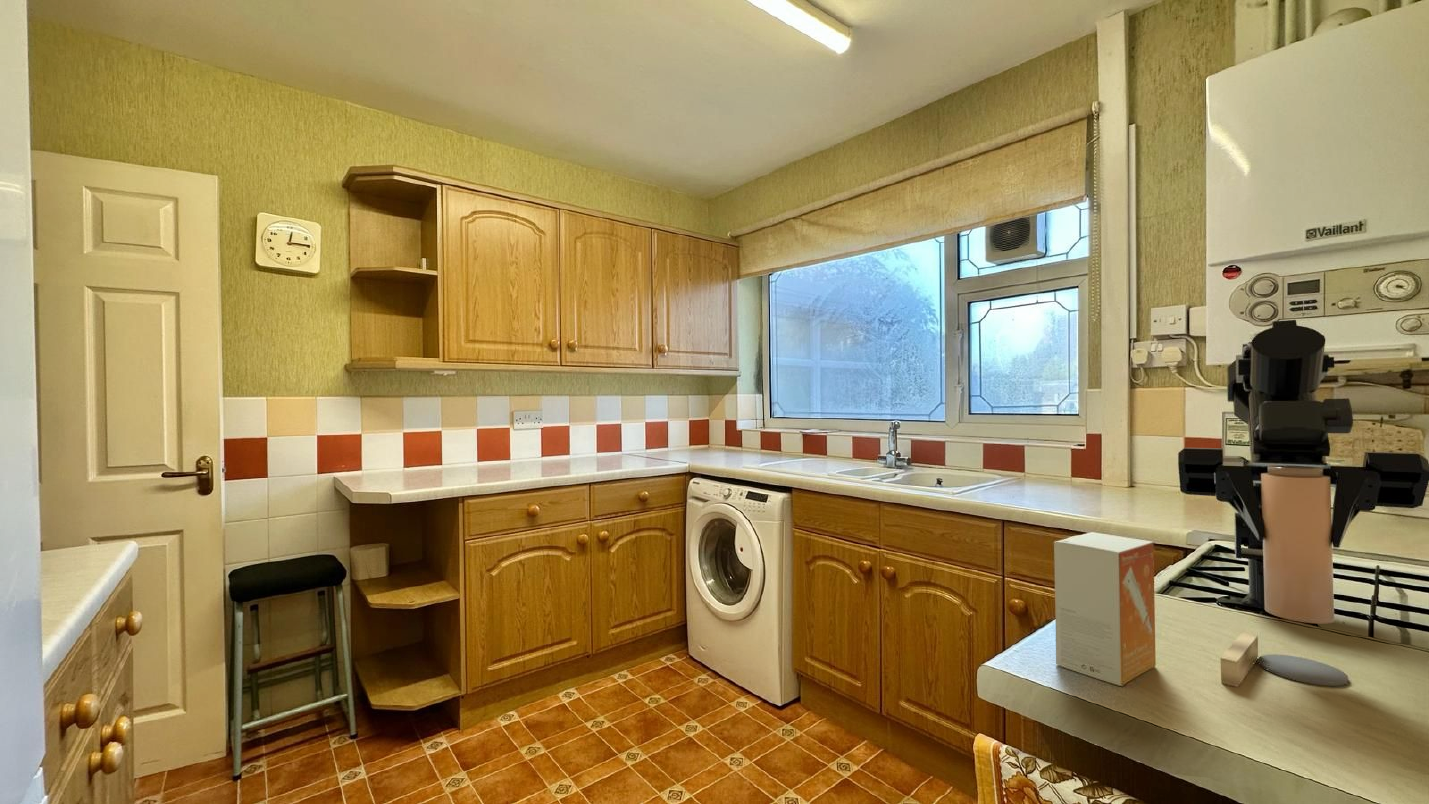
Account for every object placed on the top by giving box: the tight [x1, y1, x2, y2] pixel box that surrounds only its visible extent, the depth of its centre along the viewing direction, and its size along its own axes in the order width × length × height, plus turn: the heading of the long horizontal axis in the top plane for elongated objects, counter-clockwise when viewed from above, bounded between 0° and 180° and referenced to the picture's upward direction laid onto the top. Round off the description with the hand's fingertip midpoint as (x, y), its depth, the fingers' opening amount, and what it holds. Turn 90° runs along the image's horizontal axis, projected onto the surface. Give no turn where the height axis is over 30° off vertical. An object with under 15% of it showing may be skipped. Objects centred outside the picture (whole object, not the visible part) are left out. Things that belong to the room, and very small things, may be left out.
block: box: [1220, 631, 1259, 688], centre depth 60 cm, size 10×1×2 cm, turn 129°
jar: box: [1261, 465, 1335, 625], centre depth 60 cm, size 5×5×15 cm
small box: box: [1053, 531, 1157, 687], centre depth 62 cm, size 8×6×13 cm
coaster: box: [1257, 654, 1349, 687], centre depth 60 cm, size 6×6×1 cm
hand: (1297, 541), depth 59 cm, fingers closed on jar, 5 cm apart
